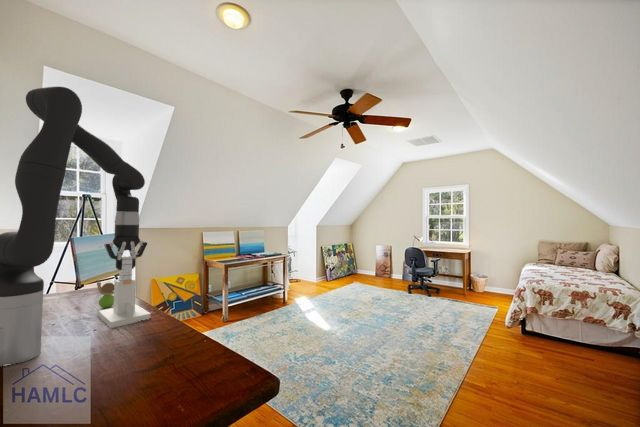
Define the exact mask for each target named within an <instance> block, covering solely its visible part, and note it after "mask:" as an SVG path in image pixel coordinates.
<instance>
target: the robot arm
mask: <svg viewBox="0 0 640 427" xmlns="http://www.w3.org/2000/svg"><path fill="white" fill-rule="evenodd" d="M25 103H26V105H27V107H28V108H29V110H30V111H31V113H33V115H35V116H36V117H38V118H39V119H40V120H41V121H43V123H42V126H41V129H40V130H39V132H38V133H37V135H36V136H35V138H33V140H32V141H31V142H30V143H29V144H28V146H27V147H26V148H25V149H24V151H23V152H22V154H21V155H20V158H19V160H18V164H17V168H16V174H15V178H14V184H15V189H16V191H17V195H18V198H19V201H20V204H21V210H22V211H21V213H22V214H21V220H20V224H19V227H18V230H17V231H7V232H3V233H2V232H1V233H0V366H2V365H5V364H14V365H16V364H15V363H18V364H21V362H22V363H25V362H28V361H29V360H32V359H34V358H36V357H38V356H39V355H40V354H41V353H42V352H41V350H42V332H43V329H42V328H43V309H44V308H43V307H44V306H43V304H44V286H45V282H44V279H43V278H41V277H40V276H38V274H36V272H35V271H34V268H35V267H39V266H41V265H43V264H45V262H46V261H48V260H49V258H50V257H51V255H52V253H53V250H54V246H55V238H56V237H55V236H56V235H55V234H56V222H57V213H58V207H59V202H60V197H61V192H62V188H63V185H64V180H65V176H66V171H67V164H68V159H69V157H70V156H69V155H70V151H71V147H72V143H73V144H74V145H75V146H76V147H78V148H79V149H80V150H81V151H82V152H83V153H85V154H86V155H87V156H88V158H90V160H92V161H93V162H94V163H95V164H96V165H97V166H99V168H101V170H103V171H104V172H105V173H107V174H110V175H113V177H112V180H111V184H112V188H113V193H114V196H115V200H116V210H115V218H114V239H113V240H112V241H110V242H108V243H104V244H103V246H104V248H105V251H106V252H107V254H108V256H109V258H110V259H112V260H115V268H116V269H117V271H119V270H121V269H122V260H121V258H122V256H123V255H124V252H125V251H128V252H129V255H130V256H132V270H133V269H134V268H135V267H136V260H137V259H138V258H140V257H142V255H143V253H144V251H145V250H146V247H147V245H148V242H146V241H142V240H141V239H140V237H139V236H140V214H139V213H140V200H139V198H138V197H136V196H134V195H133V196H132V193H131V191H136V190H137V191H138V190H142V188H144V186H145V184H146V180H145V178H144V176H143V174H142V173H141V172H140V171H139V170H138V169H137V168H135V167H134V166H132V165H131V164H130V163H128V162H127V161H125V160H123V158H122V157H121V156H120V155H119V154H118V153H117V152H116V150H114V149H113V148H112V147H111V146H110V145H109V144H108V143H106V142H105V140H104V141H103V140H102V139H101V138H99V137H97V136H95V135H94V134H92V133H91V132H89V131H88V130H86V129H85V128H83V126H81V125H80V124H79V122H80V120H81V117H82V113H83V104H82V102H81V99H80V97H79V95H78V94H77V93H76V92H75V91H74V90H72V89H70V88H69V87H65V86H46V87H40V88H39V87H38V88H34V89H31V90H29V91H28V92H27V93H26V95H25ZM114 246H115V247H116V248H117V250H116V255H115V253H114V250H113V248H114ZM138 246H139V248H138V250H137V251H136V247H138Z"/></svg>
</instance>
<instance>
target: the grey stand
mask: <svg viewBox="0 0 640 427" xmlns="http://www.w3.org/2000/svg"><path fill="white" fill-rule="evenodd" d="M113 284H114V291H113V292H114V293H113V296H114V305H113V307H109V308H103V309H100V310H97V317H98V318H99V319H101V320H102V321H103V322H104V323H105V324H106V325H107V326H108V327H109V328H110V329H114V328H117V327H121V326H125V325H130V324H134V323H139V322H142V321H141V320H143V321H146V320H145V319H147V320H150V319H149V318H151V317H152V316H151V314H152V313H151V312H149V311H148V310H146V309H144V308H142V307H141V306H140V305H138V304H136V287H137V279H135V278H133V277H132V280H128V281H119V278H117V279H114V283H113ZM138 321H139V322H138Z"/></svg>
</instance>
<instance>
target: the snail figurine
mask: <svg viewBox="0 0 640 427" xmlns="http://www.w3.org/2000/svg"><path fill="white" fill-rule="evenodd" d="M99 280H100V279H96V282H97V283H96V287H97V290H98V292H99V294H101V295H102V296H100V298H99V300H98V305H99V306H100V308H103V309H109V308H112V307H114V283H113V282H106V283H104V284H103V285H102V282H101V281H99Z"/></svg>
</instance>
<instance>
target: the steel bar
mask: <svg viewBox="0 0 640 427" xmlns="http://www.w3.org/2000/svg"><path fill="white" fill-rule="evenodd" d="M121 260H122V269H121V270H118V279H119V281H128V280H132V278H133V269H132V256H130V254H129V255H122V258H121Z"/></svg>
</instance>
